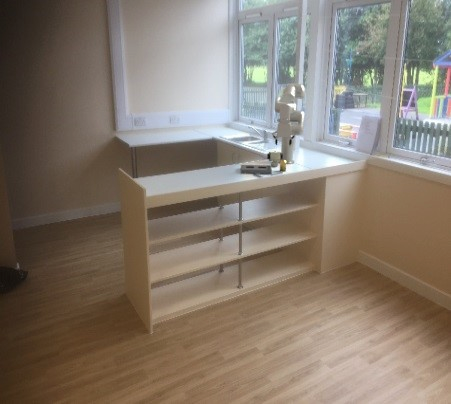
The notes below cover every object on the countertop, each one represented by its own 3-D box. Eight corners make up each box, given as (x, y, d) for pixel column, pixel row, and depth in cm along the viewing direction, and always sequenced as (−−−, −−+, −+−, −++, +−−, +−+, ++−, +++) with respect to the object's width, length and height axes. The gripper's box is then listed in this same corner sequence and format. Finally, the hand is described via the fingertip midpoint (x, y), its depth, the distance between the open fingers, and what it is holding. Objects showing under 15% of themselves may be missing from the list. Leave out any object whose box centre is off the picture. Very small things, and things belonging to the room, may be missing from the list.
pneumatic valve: (266, 165, 330) (267, 150, 326) (281, 165, 330) (282, 150, 327) (267, 167, 325) (268, 151, 321) (282, 167, 325) (283, 151, 322)
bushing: (279, 170, 315) (280, 159, 313) (285, 170, 315) (286, 159, 313) (280, 171, 311) (280, 160, 309) (286, 171, 311) (286, 161, 309)
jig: (240, 168, 319) (241, 164, 318) (270, 169, 318) (270, 165, 317) (240, 173, 303) (241, 169, 303) (271, 174, 303) (271, 170, 302)
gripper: (272, 121, 299) (271, 145, 304) (297, 122, 298) (295, 146, 303) (272, 120, 306) (270, 143, 311) (296, 120, 306) (294, 144, 311)
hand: (283, 145), depth 307 cm, fingers open, 9 cm apart
